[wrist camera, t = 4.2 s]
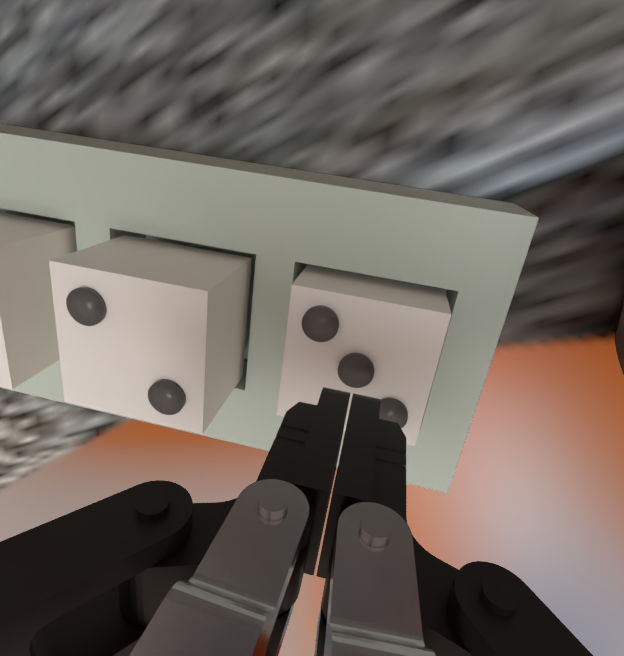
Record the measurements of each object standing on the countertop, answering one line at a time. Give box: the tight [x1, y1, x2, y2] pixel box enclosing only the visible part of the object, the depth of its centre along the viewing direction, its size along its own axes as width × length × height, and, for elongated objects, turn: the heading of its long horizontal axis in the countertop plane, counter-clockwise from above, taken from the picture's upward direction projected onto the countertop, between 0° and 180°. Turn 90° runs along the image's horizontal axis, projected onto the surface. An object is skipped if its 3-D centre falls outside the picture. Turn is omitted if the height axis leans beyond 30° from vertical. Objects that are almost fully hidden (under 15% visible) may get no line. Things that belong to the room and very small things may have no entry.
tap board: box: [0, 124, 539, 493], centre depth 19 cm, size 11×23×4 cm, turn 83°
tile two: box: [49, 235, 252, 434], centre depth 16 cm, size 5×5×4 cm
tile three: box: [277, 264, 451, 446], centre depth 17 cm, size 5×5×4 cm
